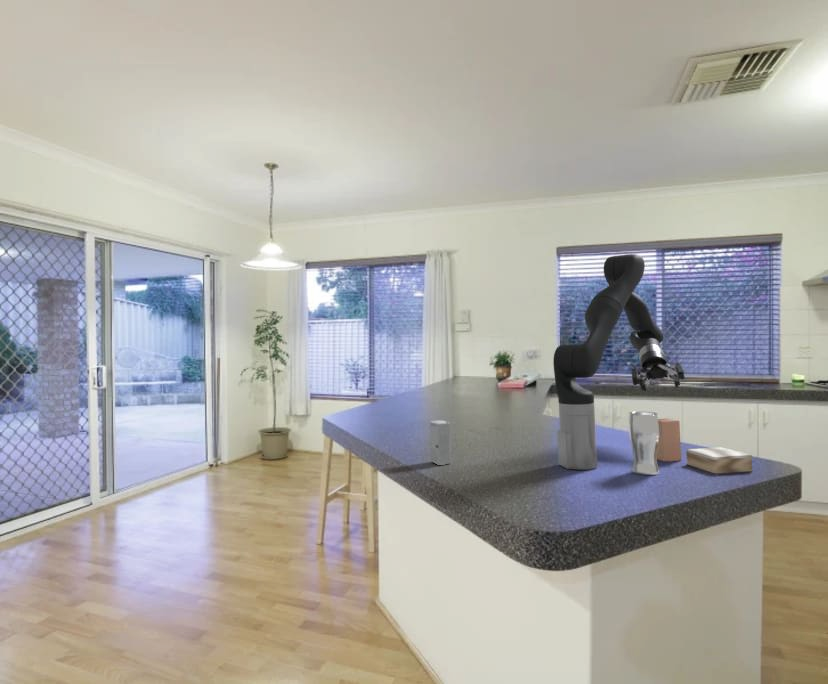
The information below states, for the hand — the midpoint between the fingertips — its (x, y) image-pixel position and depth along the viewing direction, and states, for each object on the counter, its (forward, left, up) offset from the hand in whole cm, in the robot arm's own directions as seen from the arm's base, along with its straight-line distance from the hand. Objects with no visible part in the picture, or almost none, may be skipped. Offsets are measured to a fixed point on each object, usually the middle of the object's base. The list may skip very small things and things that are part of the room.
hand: (660, 386), depth 139 cm
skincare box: (-66, +5, -20) cm, 69 cm away
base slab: (+3, -18, -20) cm, 27 cm away
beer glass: (-17, -18, -20) cm, 32 cm away
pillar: (-3, -6, -20) cm, 21 cm away
